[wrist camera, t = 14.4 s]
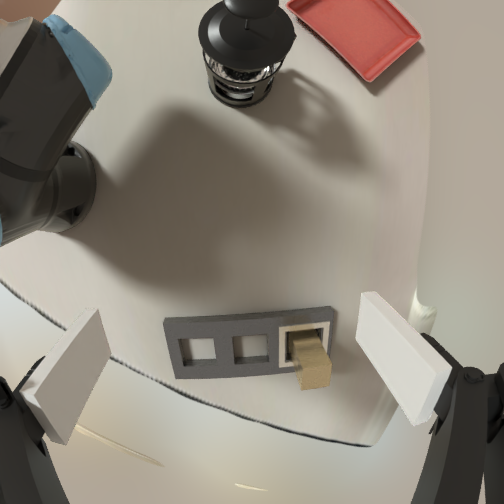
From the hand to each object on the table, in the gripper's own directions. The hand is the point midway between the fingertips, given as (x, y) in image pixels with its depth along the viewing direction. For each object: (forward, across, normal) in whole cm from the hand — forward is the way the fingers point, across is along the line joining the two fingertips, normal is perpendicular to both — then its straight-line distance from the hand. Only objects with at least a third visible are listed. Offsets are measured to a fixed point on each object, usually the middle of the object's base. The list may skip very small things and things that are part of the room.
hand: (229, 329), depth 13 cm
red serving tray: (+31, +22, +33) cm, 51 cm away
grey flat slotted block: (+30, +2, -22) cm, 38 cm away
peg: (+30, +11, -22) cm, 39 cm away
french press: (+31, +3, +21) cm, 38 cm away
